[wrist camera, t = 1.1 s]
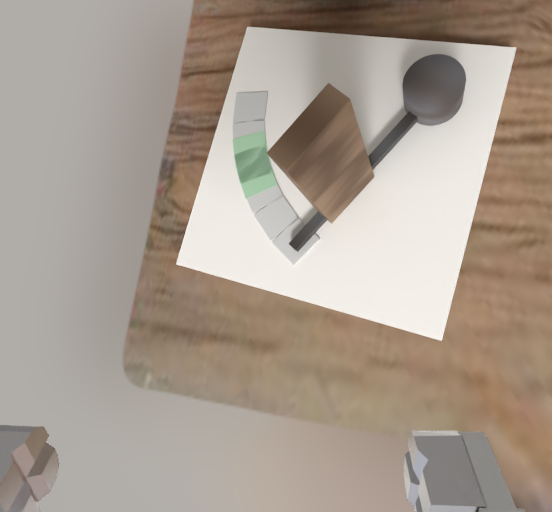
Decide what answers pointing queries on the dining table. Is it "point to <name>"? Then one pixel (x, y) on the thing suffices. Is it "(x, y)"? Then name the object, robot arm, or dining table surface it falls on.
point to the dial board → (371, 200)
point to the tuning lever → (358, 138)
